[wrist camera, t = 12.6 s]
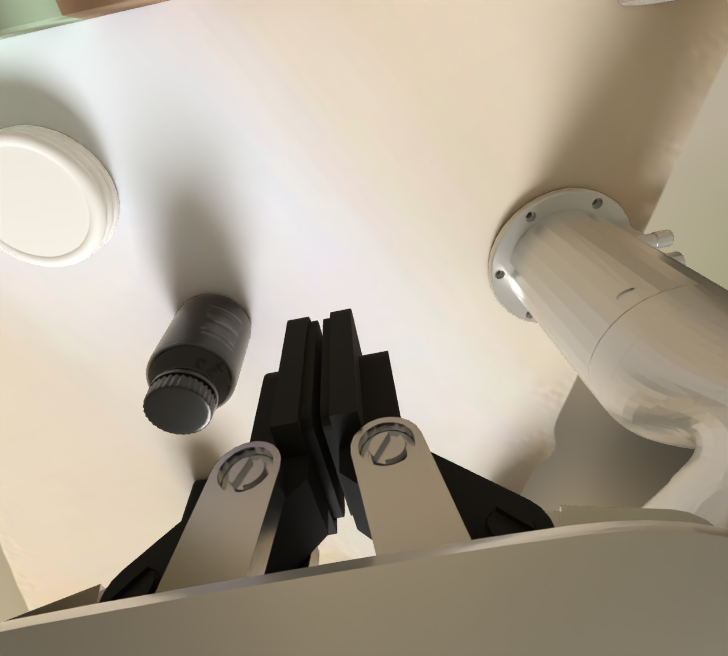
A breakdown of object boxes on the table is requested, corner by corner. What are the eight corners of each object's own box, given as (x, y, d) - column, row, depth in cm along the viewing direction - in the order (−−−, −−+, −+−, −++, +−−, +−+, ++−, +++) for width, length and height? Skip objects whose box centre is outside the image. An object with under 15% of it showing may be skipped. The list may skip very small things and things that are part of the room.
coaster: (142, 180, 35) (125, 191, 32) (94, 274, 39) (74, 292, 36) (6, 93, 32) (-28, 96, 29) (-33, 205, 35) (-67, 219, 32)
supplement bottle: (163, 304, 41) (105, 387, 30) (232, 282, 40) (198, 359, 30) (199, 362, 44) (159, 454, 34) (264, 343, 43) (242, 431, 33)
